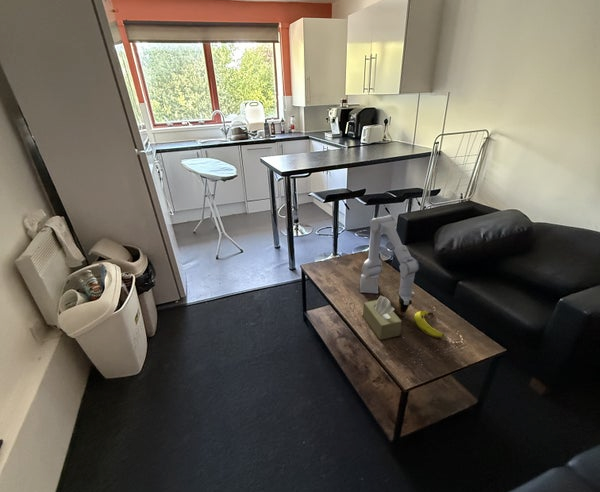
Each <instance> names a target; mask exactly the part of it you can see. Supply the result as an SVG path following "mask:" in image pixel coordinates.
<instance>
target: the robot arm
mask: <svg viewBox="0 0 600 492" xmlns="http://www.w3.org/2000/svg"><path fill="white" fill-rule="evenodd" d="M369 225H370V227H369V232H370V233H369V246H368V247H369V248H368V258H367V259H366V260H365V261H363V265H362V268H361V272H362V274H360V283H359V287H360V288H359V289H360V291H359V292H360V293H365V294H366V293H367V294H379V277H380V276H381V274H382V273H383V270H384V267H383V262H382V261H381V259H380V251H381V240H382V234H383V235H386V236H387V237H388V239H389V241H390V242H391V244H392V246H393V248H394V250H393V252H394V256H395V257H396V259H397V261H398V263H399V264H400V265H398V266H399V267H398V268H399V271H400V273H399V275H400V281H399V289H398V290H397V294H398V303H399V302H400V305H401V312H406V310H407V308H408V309H409V306H411V305H412V303H413V301H412V300H411V298H412V296H415V292H414V291H413V287H414V283H415V282H414V281H415V277H416V276H415V275H416V273H417V272H418V271H419V269H420V265H419V261H418V260H417V259H415V258H414V257H413V256H412V255H411V252H410V251H409V249H408V247H407V245H405V244H403V243H402V241H401V238H400V236H399V234H398V231H397V229H396V226H397V222H396V219H395V218H394V216H393V215H391V214H389V215H385V216H379V217H374V218H372V219H371V220H370V224H369ZM400 297H401V298H402V299H399V298H400Z"/></svg>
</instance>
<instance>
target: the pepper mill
mask: <svg viewBox="0 0 600 492" xmlns="http://www.w3.org/2000/svg"><path fill="white" fill-rule="evenodd" d="M399 299H402V298H401V297H400V298H399V297H398V300H399ZM397 303H398V304H397V314H398V315H400V316H406V315H408V310H409V307H408V308H407V310H406V312H401V305H400V302H399V301H398V302H397Z"/></svg>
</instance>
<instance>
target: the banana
mask: <svg viewBox="0 0 600 492" xmlns="http://www.w3.org/2000/svg"><path fill="white" fill-rule="evenodd" d="M433 315H434V312H427V311H426V310H419V311H417V312H416V313H415V314H414V316H413V319H414V322H415V324H416V325H417V327H418V328H419V330H420V331H421V332H422V333H424V334H425V335H428V336H430V337H432V338H438V339H439V338H443V337H445V334H444V333H442V332H440V331H439V330H437V329H435V328H434V327H432V325H430V324H429V323H428V322H427V320H426V319H425V316H433Z"/></svg>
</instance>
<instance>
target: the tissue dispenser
mask: <svg viewBox="0 0 600 492" xmlns="http://www.w3.org/2000/svg"><path fill="white" fill-rule="evenodd" d="M394 311H395V308H394V307H393V306H392V305H391V301H390V300H389V299H388V298H387V297H386V296H383V295H379V297H378V299H375V300H374V299H373V300H370V301H366V302H363V309H362V317H363V318H364V319H365V321H366V322H367V324H368V325H369V327H370V329H372V330H373V332H374V333H375V335H376V336H377V337H378V339H379V340H385V339H390V338H396V337H399V336H401V330H402V325H403V321H402V319H401V318H400V317H399V316H398V315H397V314H396V313H395V312H394Z"/></svg>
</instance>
